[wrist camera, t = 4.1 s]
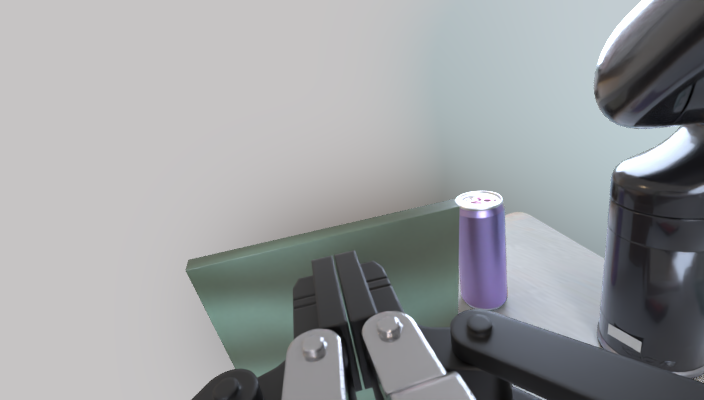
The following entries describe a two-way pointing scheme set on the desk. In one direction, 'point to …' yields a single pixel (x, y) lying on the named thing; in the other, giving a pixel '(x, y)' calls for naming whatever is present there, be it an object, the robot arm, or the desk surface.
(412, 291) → the lid
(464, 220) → the beverage can
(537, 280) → the desk surface
